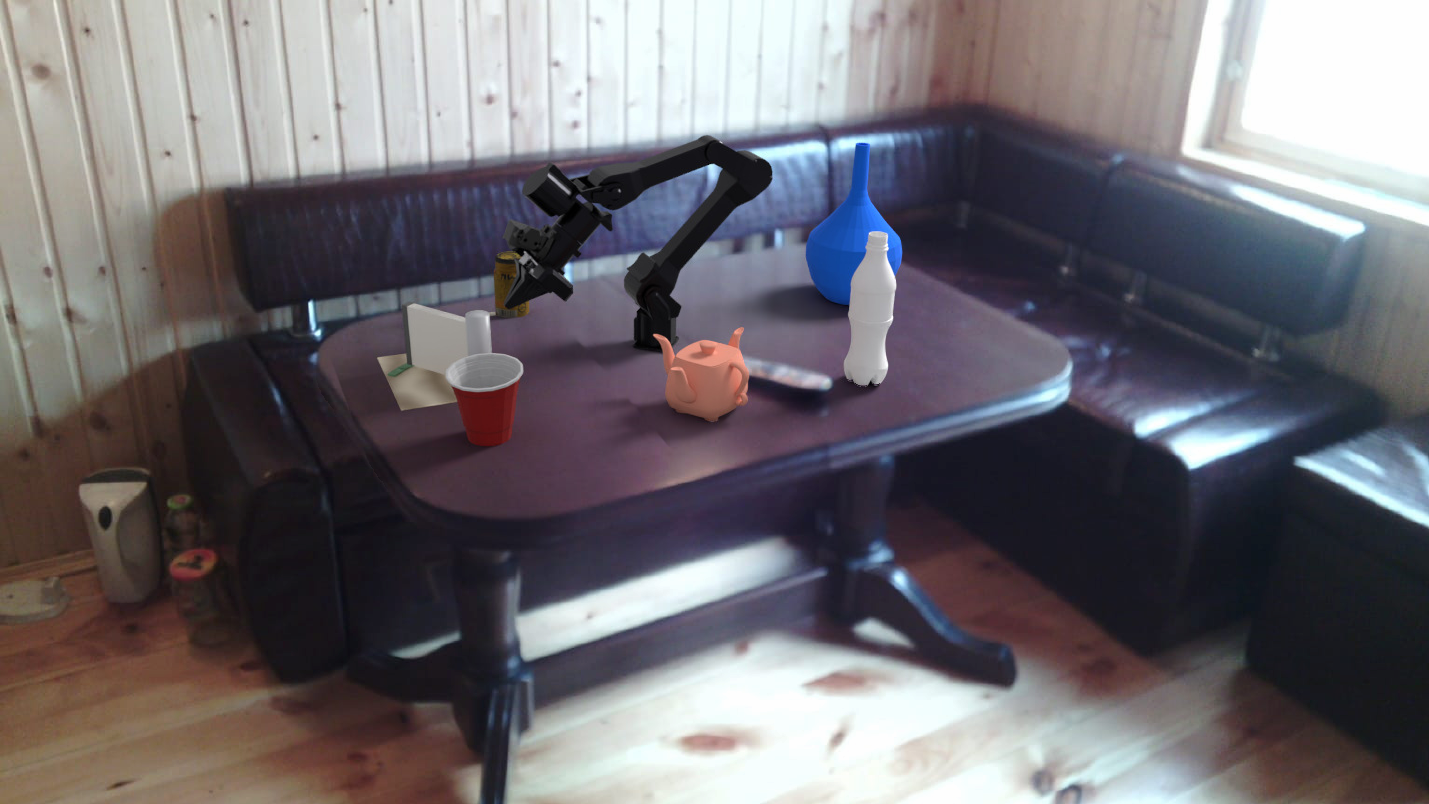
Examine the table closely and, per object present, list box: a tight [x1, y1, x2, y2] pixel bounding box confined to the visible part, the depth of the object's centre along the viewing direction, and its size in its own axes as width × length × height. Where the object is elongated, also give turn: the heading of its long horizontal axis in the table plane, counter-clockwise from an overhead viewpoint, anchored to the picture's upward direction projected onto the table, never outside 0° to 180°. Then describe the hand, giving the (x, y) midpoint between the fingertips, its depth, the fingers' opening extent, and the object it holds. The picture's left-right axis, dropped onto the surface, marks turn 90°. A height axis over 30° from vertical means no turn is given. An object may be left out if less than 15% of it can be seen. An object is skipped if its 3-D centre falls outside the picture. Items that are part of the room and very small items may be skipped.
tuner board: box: [376, 353, 457, 412], centre depth 185 cm, size 16×21×2 cm
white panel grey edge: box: [401, 300, 493, 375], centre depth 181 cm, size 17×4×12 cm, turn 59°
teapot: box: [653, 326, 750, 422], centre depth 177 cm, size 14×14×11 cm
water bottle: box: [843, 231, 897, 386], centre depth 185 cm, size 7×7×25 cm
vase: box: [805, 142, 903, 306], centre depth 219 cm, size 18×18×30 cm
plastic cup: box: [446, 352, 524, 447], centre depth 165 cm, size 11×11×12 cm
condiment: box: [489, 250, 530, 319], centre depth 208 cm, size 7×8×12 cm
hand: (506, 307), depth 188 cm, fingers closed
